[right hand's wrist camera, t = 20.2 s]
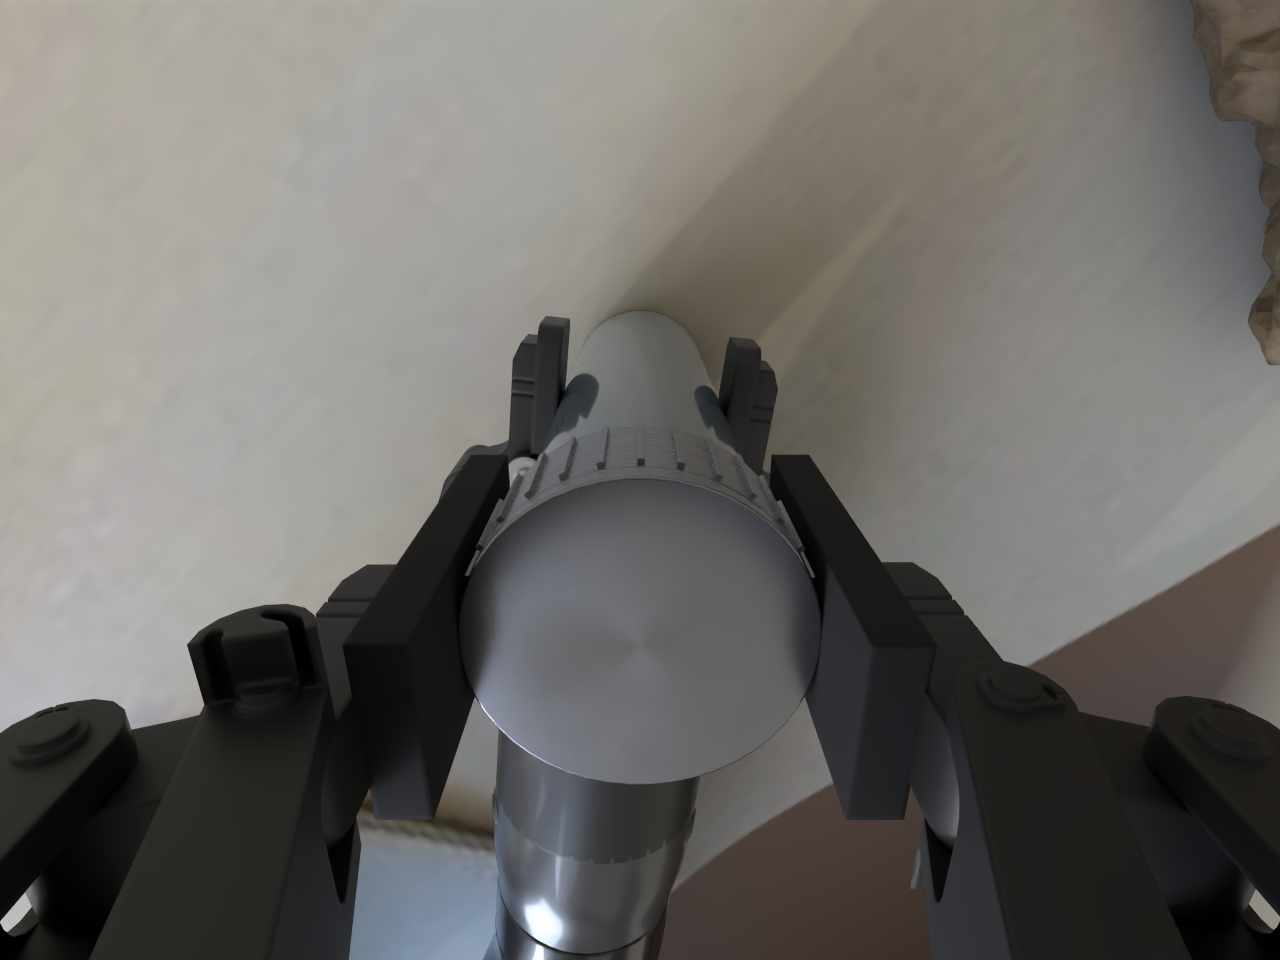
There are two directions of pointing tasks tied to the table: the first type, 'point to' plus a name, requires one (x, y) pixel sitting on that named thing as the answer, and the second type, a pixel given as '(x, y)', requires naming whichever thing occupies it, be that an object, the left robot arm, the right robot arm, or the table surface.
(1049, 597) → the table surface
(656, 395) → the blue-grey bottle
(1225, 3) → the stone
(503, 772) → the left robot arm
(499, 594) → the lid
